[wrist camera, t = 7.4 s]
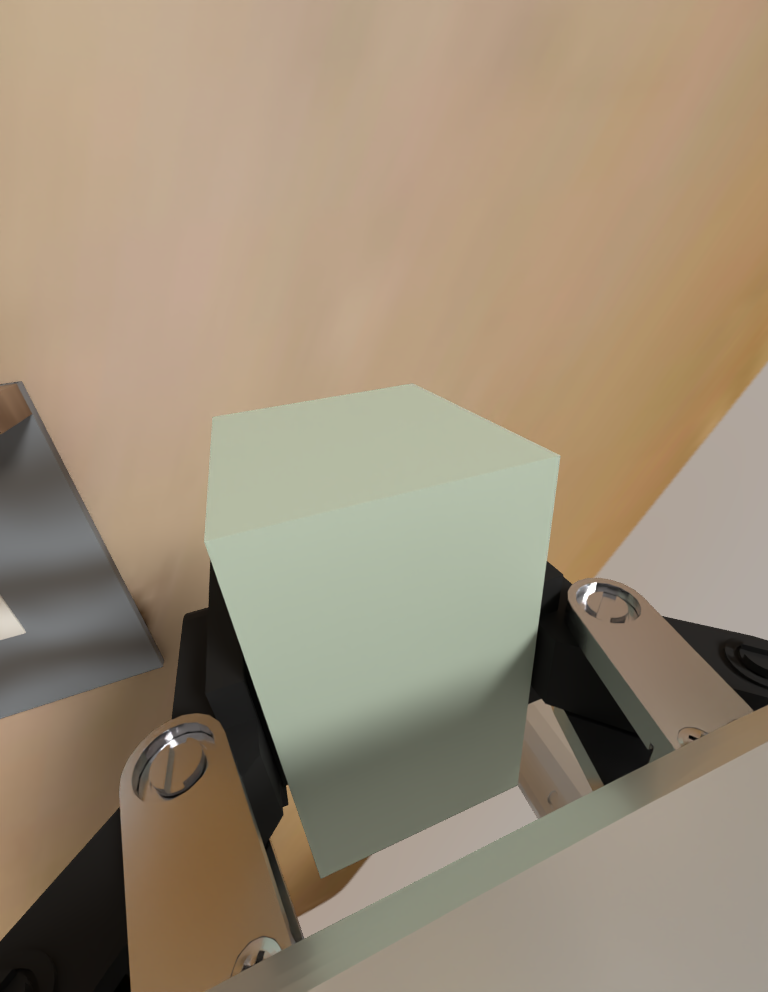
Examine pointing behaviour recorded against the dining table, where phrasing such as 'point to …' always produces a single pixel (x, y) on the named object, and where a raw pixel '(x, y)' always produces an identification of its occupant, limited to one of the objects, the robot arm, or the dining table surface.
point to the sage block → (383, 602)
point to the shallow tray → (56, 577)
